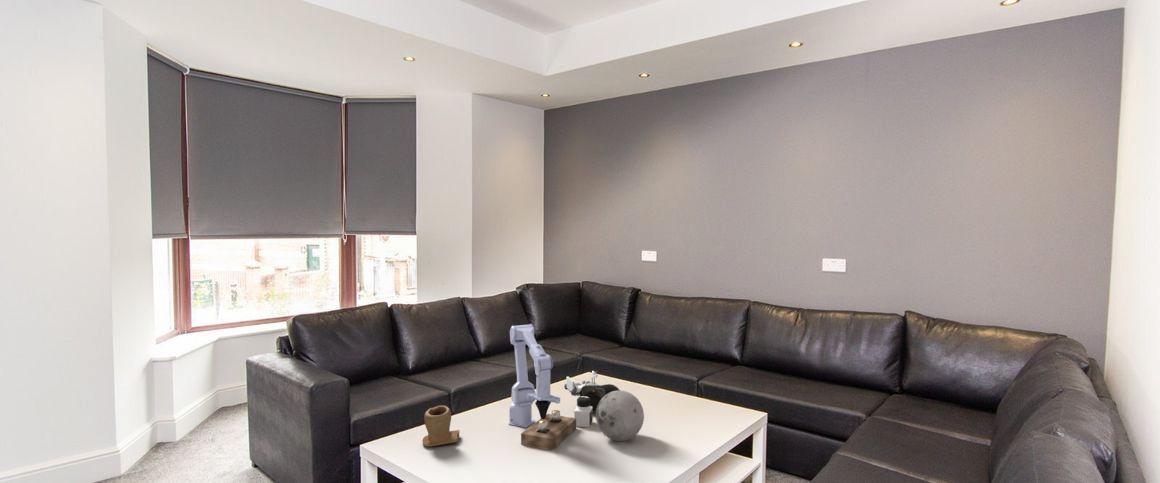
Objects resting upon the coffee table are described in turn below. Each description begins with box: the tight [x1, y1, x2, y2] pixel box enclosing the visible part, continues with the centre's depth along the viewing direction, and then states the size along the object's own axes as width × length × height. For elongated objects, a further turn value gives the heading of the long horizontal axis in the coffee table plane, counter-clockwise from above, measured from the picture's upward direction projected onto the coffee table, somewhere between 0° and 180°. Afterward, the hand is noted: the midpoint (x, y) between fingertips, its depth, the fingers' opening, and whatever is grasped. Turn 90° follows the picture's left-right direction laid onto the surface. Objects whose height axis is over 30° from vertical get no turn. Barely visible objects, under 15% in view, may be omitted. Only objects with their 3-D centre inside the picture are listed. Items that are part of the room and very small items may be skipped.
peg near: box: [538, 419, 548, 434], centre depth 216 cm, size 4×4×4 cm
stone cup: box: [421, 405, 461, 447], centre depth 214 cm, size 15×12×15 cm
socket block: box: [520, 413, 577, 451], centre depth 222 cm, size 14×24×4 cm, turn 157°
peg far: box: [551, 409, 561, 423], centre depth 227 cm, size 4×4×4 cm
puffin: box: [579, 383, 620, 413], centre depth 254 cm, size 20×21×13 cm
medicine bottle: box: [573, 396, 594, 428], centre depth 235 cm, size 7×7×12 cm
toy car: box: [564, 370, 599, 396], centre depth 283 cm, size 18×10×12 cm
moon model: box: [595, 389, 645, 442], centre depth 219 cm, size 20×20×20 cm
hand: (543, 418), depth 216 cm, fingers closed
